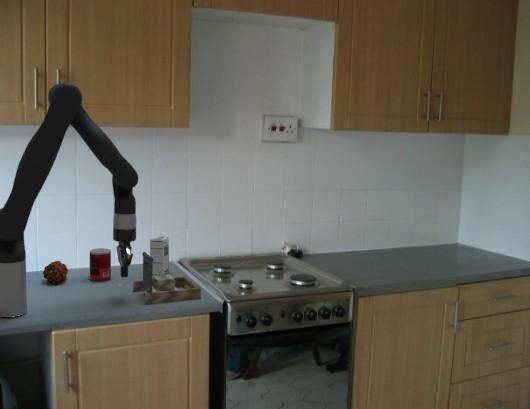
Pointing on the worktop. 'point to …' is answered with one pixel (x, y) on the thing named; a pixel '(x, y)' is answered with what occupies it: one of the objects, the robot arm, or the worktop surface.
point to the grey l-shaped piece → (155, 278)
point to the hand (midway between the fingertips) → (124, 276)
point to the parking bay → (171, 291)
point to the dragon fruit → (55, 272)
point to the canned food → (100, 264)
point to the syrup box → (160, 255)
